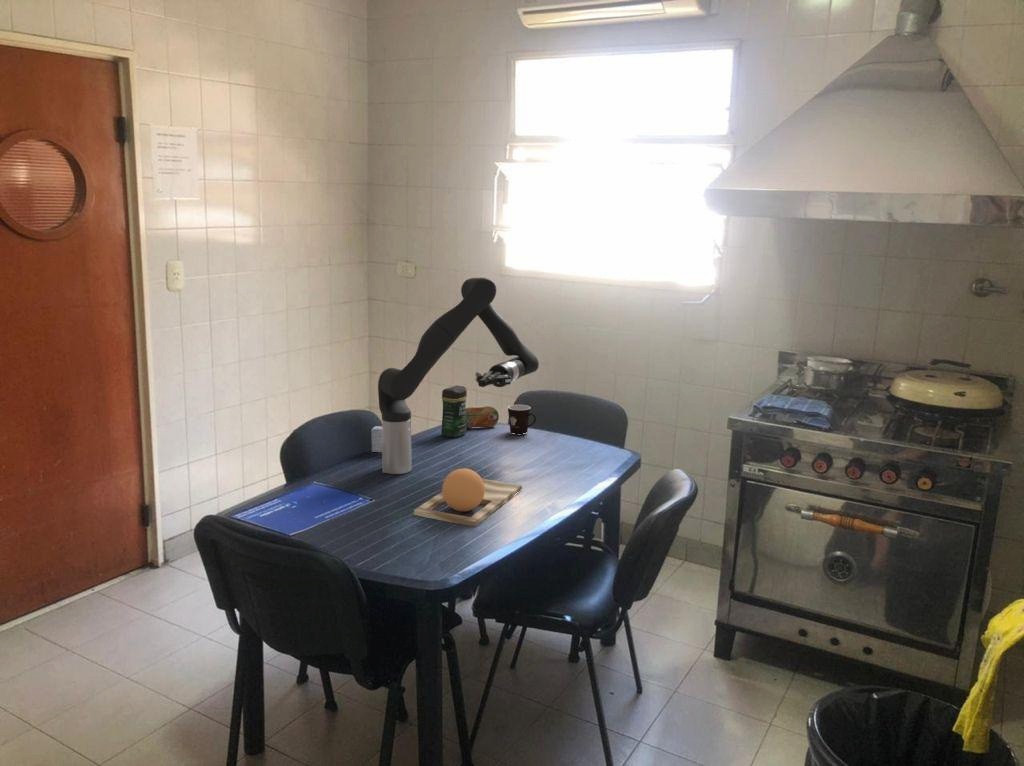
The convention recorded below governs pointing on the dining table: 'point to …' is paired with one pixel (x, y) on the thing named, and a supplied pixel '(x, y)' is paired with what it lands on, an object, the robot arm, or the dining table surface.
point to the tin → (481, 416)
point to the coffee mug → (519, 418)
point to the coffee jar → (454, 411)
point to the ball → (463, 489)
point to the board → (492, 497)
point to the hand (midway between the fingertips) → (481, 383)
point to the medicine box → (377, 439)
